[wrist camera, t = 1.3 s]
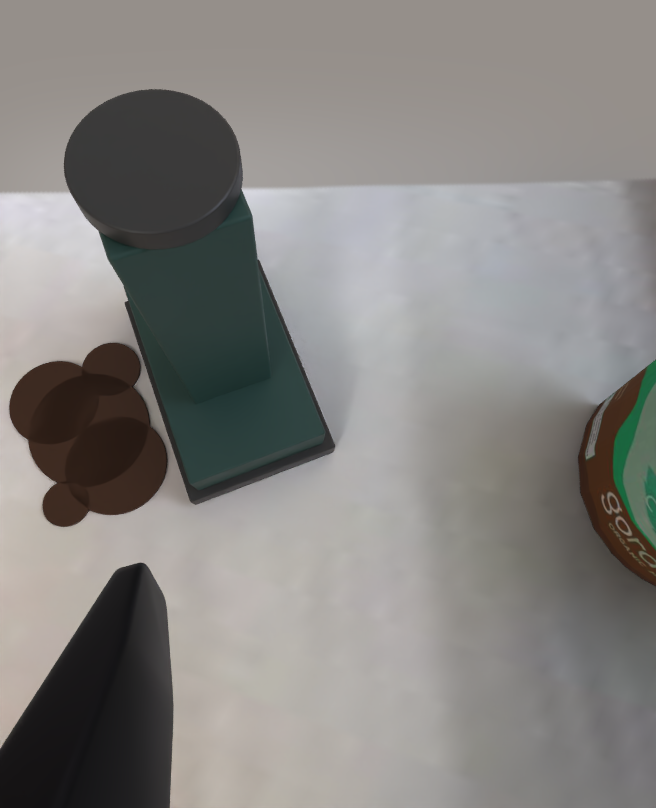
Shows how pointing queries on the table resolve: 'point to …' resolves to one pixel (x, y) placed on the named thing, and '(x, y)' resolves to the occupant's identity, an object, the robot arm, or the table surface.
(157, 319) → the wiper
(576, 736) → the table surface
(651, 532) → the food container
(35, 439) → the coffee spill
